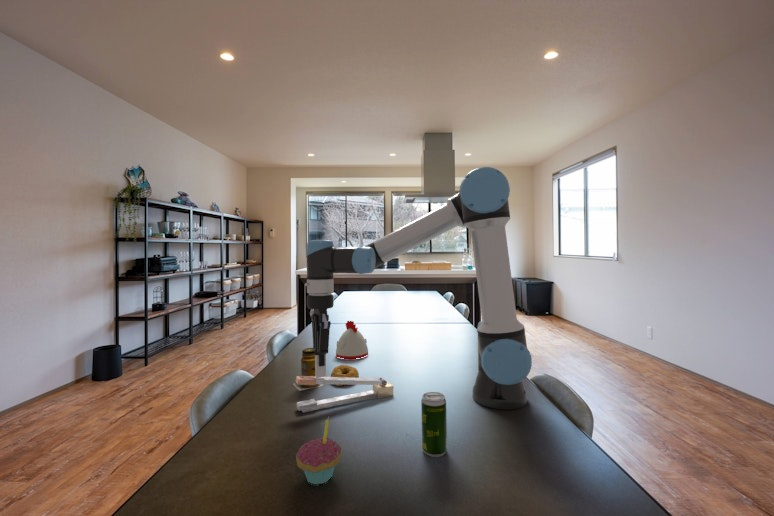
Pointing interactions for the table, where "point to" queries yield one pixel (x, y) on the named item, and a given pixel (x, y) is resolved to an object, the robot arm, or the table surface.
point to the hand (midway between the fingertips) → (320, 376)
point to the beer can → (434, 424)
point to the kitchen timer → (351, 343)
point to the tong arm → (339, 380)
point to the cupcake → (319, 458)
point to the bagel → (344, 372)
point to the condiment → (307, 368)
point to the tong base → (346, 398)
